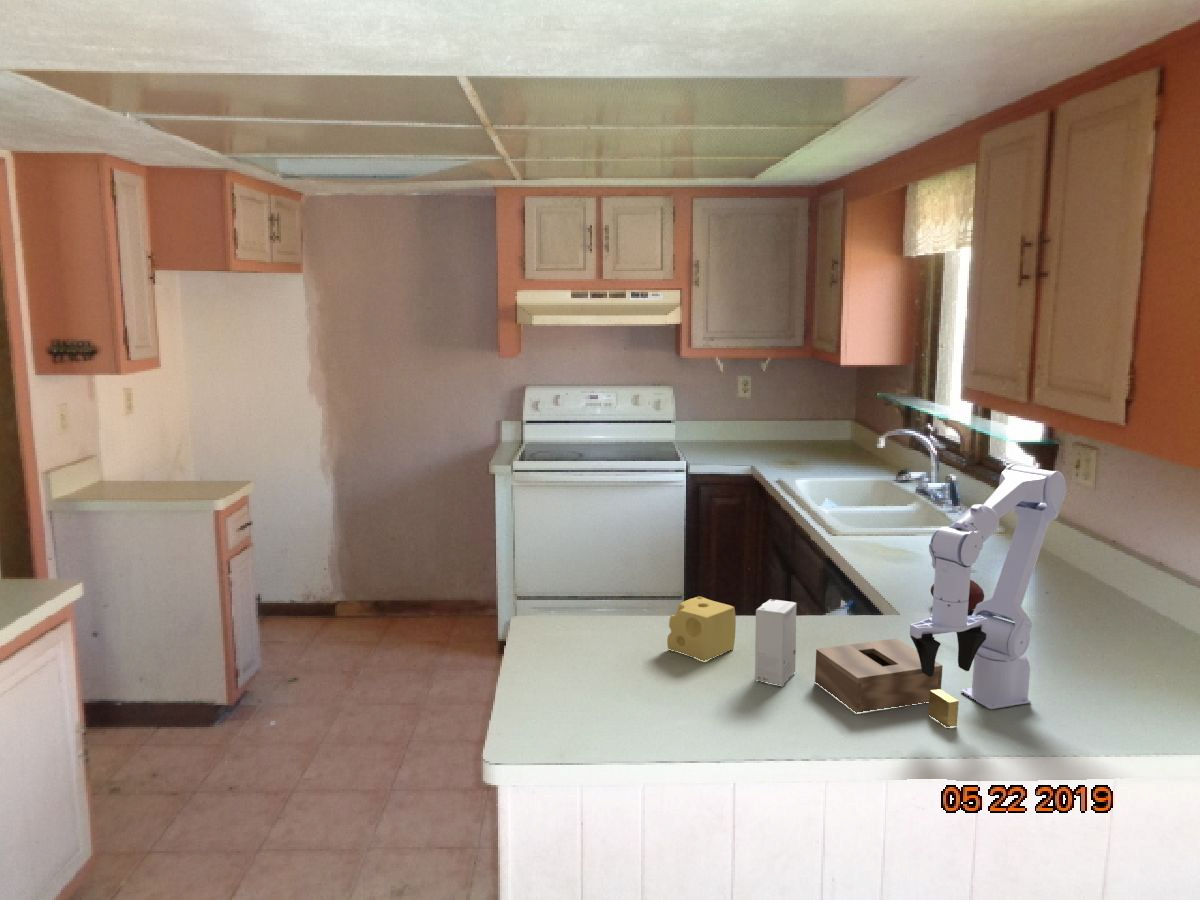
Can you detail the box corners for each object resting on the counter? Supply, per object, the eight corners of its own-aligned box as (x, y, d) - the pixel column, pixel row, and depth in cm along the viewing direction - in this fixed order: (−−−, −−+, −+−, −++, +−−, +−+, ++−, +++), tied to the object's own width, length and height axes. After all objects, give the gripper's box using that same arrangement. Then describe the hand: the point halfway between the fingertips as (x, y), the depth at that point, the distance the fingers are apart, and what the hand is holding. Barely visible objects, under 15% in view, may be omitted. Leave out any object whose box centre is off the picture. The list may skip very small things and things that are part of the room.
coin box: (894, 671, 181) (896, 638, 180) (940, 701, 168) (942, 665, 167) (814, 683, 176) (816, 649, 174) (856, 714, 162) (857, 678, 161)
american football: (989, 619, 210) (992, 584, 209) (941, 618, 211) (943, 584, 209) (970, 602, 222) (973, 569, 220) (924, 602, 222) (926, 569, 221)
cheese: (666, 650, 192) (667, 605, 190) (699, 637, 199) (699, 594, 198) (705, 664, 185) (706, 618, 183) (737, 650, 192) (738, 605, 190)
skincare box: (782, 688, 173) (785, 614, 171) (752, 681, 176) (754, 609, 174) (796, 672, 181) (798, 601, 178) (767, 666, 183) (769, 596, 181)
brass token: (937, 715, 162) (939, 689, 162) (956, 727, 158) (958, 700, 157) (928, 716, 162) (930, 690, 161) (947, 729, 157) (948, 702, 156)
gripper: (969, 586, 162) (964, 658, 164) (900, 593, 157) (896, 667, 160) (998, 598, 155) (992, 673, 157) (926, 607, 151) (921, 683, 153)
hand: (945, 671), depth 158 cm, fingers open, 7 cm apart
